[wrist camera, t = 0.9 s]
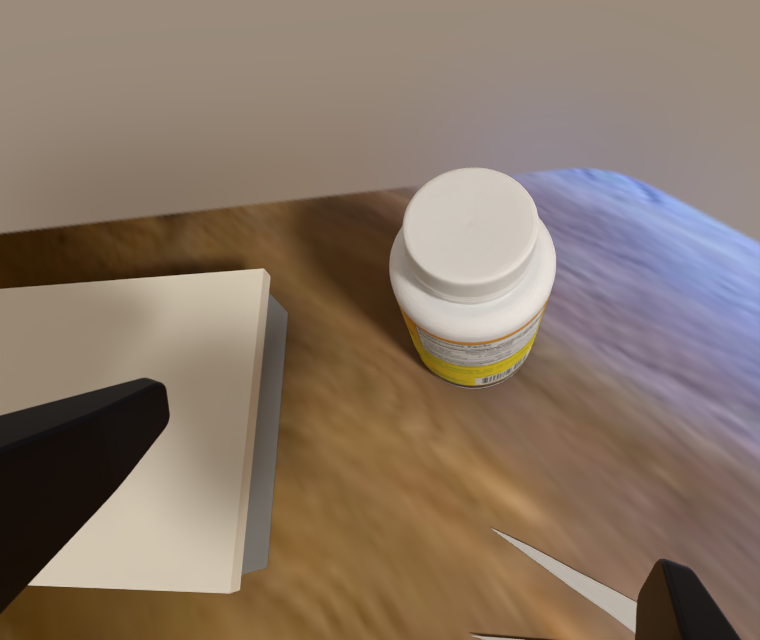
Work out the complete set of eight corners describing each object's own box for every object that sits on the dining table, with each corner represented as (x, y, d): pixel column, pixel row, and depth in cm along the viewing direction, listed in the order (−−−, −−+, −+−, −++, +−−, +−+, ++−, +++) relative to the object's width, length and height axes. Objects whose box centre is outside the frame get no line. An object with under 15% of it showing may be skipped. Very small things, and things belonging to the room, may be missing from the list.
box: (275, 577, 21) (229, 593, 17) (-84, 565, 24) (-191, 576, 21) (295, 305, 26) (263, 268, 22) (-9, 324, 29) (-84, 295, 25)
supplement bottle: (438, 269, 25) (417, 126, 16) (547, 303, 24) (595, 165, 14) (396, 368, 24) (345, 275, 14) (508, 411, 22) (534, 338, 13)
